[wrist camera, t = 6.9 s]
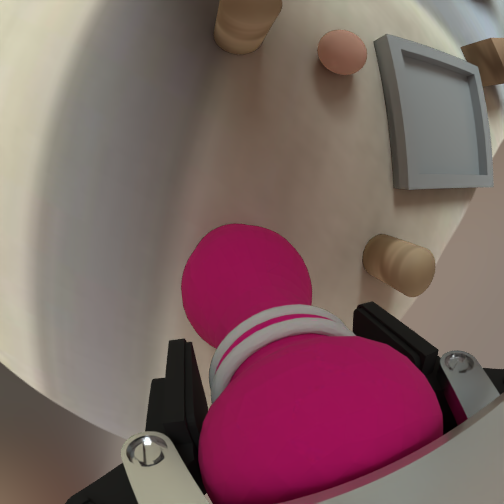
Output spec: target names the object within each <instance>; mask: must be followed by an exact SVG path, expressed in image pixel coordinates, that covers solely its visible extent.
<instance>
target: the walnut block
mask: <svg viewBox="0 0 504 504" xmlns="http://www.w3.org/2000/svg"><path fill="white" fill-rule="evenodd" d="M461 50H462V52H463V54H464V56H465V58H466V60H467V62H469V63H471V64H473V65H475V66H477V67H478V69H479V73H480V77H481V82H482V87H485V86H491V85H497V84H503V83H504V38H489V39H485V40H482V41H479V42H475V43H472V44H469V45H466V46H463V47H461Z"/></svg>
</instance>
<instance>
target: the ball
mask: <svg viewBox="0 0 504 504" xmlns="http://www.w3.org/2000/svg"><path fill="white" fill-rule="evenodd" d="M318 56H319V59H320V61H321V62H322V64H323V65H324V66H325V67H326V68H327V69H328V70H330V71H332V72H334V73H336V74H341V75H349V74H353V73H356V72H357V71H359V70H360V69H361V68H362V67H363V66H364V64H365V62H366V59H367V50H366V47H365V45H364V43H363V41H362V40H361V39H360V38H359V37H358V36H357V35H355V34H354V33H352V32H349V31H346V30H334V31H331V32H328V33H327V34H325V35H324V36H323V37H322V38H321V40H320V42H319V44H318Z"/></svg>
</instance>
